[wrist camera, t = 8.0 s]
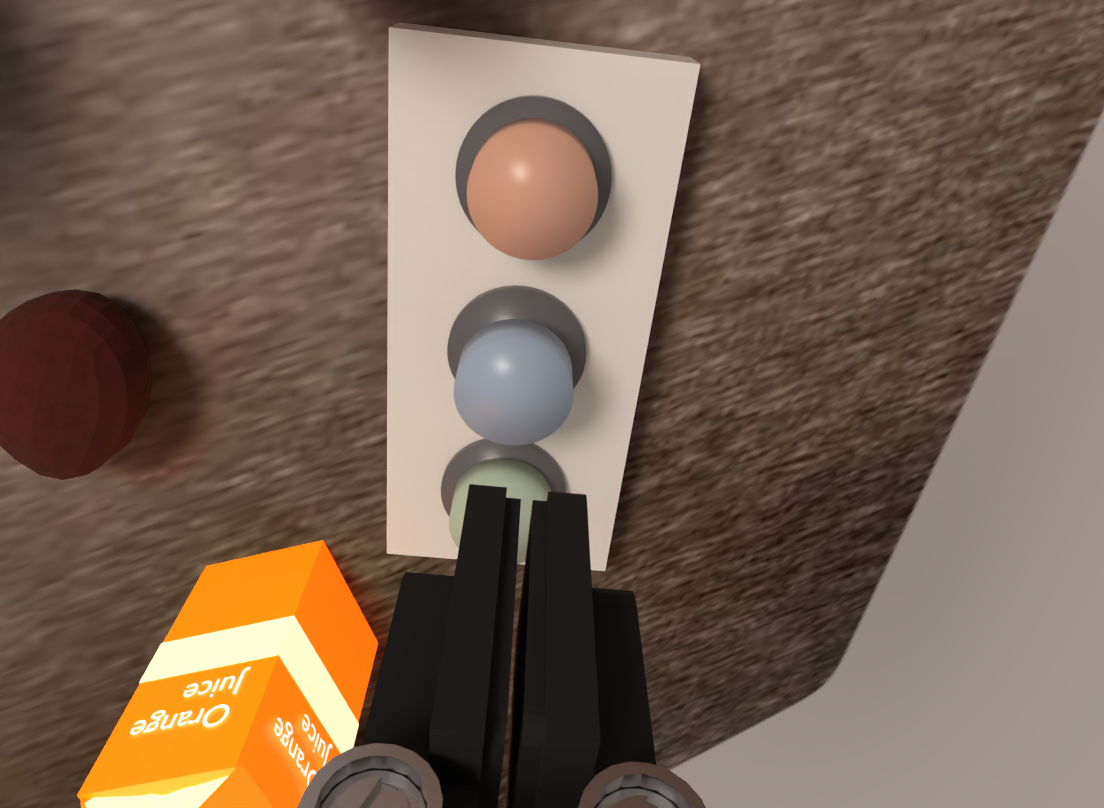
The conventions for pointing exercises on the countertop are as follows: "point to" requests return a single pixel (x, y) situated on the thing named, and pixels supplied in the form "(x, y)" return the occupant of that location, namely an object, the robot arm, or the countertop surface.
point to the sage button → (519, 485)
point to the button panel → (517, 284)
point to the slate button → (514, 382)
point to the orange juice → (243, 690)
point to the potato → (70, 382)
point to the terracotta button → (532, 189)
